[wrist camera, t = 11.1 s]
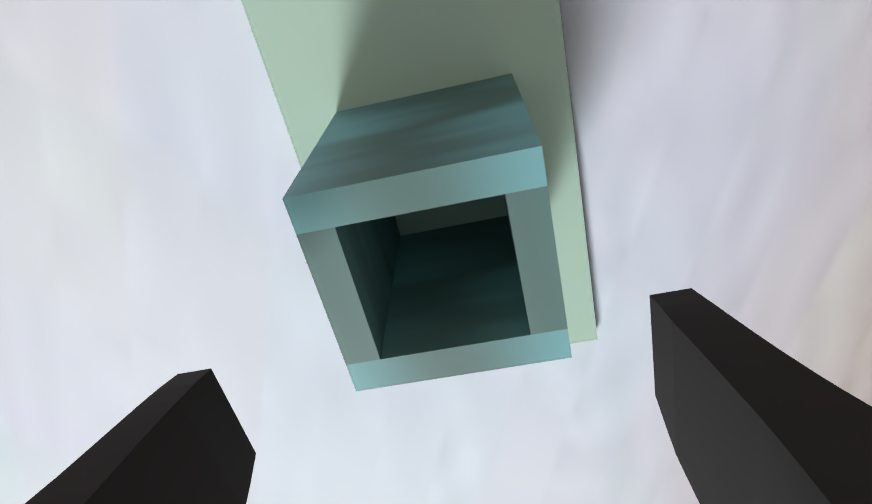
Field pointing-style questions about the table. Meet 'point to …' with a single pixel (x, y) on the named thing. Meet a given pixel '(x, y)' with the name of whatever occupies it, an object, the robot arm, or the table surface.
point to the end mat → (427, 71)
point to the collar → (432, 236)
